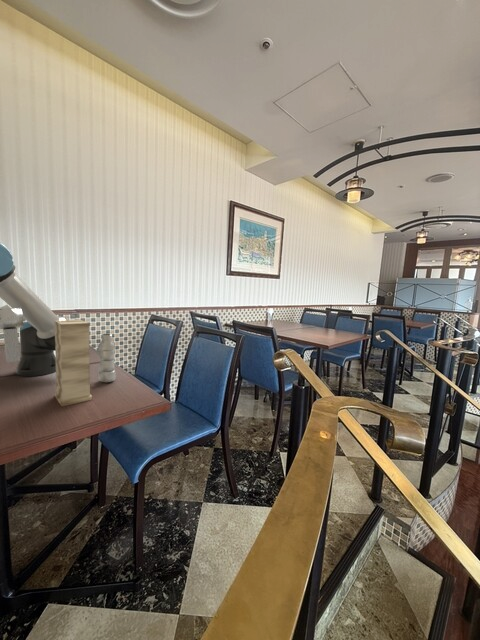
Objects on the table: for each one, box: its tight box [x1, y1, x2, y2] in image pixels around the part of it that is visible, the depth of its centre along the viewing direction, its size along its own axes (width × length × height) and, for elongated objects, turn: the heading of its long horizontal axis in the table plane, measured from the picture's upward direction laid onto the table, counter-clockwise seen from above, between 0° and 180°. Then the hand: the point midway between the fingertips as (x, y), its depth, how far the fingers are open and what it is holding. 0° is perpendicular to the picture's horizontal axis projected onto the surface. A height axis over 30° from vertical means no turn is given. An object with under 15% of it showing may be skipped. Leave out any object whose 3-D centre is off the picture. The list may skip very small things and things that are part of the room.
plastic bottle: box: [97, 333, 117, 383], centre depth 109 cm, size 6×7×20 cm
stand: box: [54, 319, 93, 407], centre depth 91 cm, size 11×9×27 cm
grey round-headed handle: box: [0, 307, 24, 364], centre depth 78 cm, size 6×16×9 cm
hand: (11, 309), depth 78 cm, fingers closed on grey round-headed handle, 6 cm apart
